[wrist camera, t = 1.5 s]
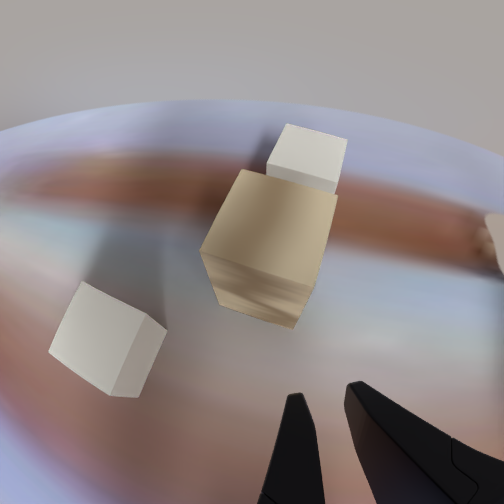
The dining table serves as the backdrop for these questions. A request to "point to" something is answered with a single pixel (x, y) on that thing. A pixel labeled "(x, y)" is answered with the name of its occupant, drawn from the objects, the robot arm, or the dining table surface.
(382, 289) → the dining table surface
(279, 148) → the white block
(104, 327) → the white block
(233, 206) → the maple block
